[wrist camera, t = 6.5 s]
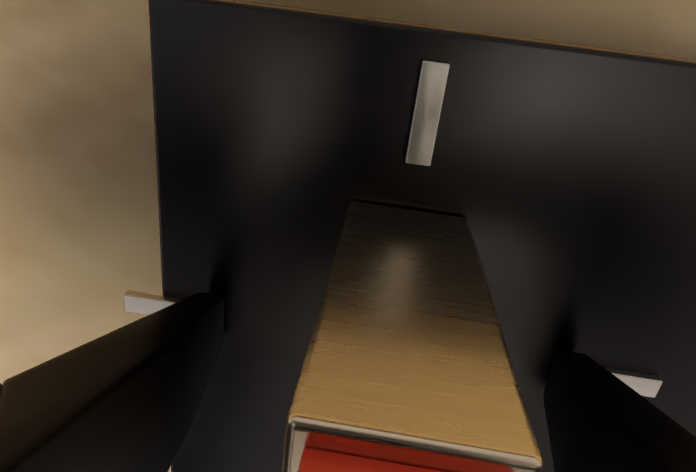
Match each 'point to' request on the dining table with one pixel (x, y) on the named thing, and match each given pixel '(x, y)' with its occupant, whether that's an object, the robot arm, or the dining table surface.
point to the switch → (407, 357)
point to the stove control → (418, 196)
